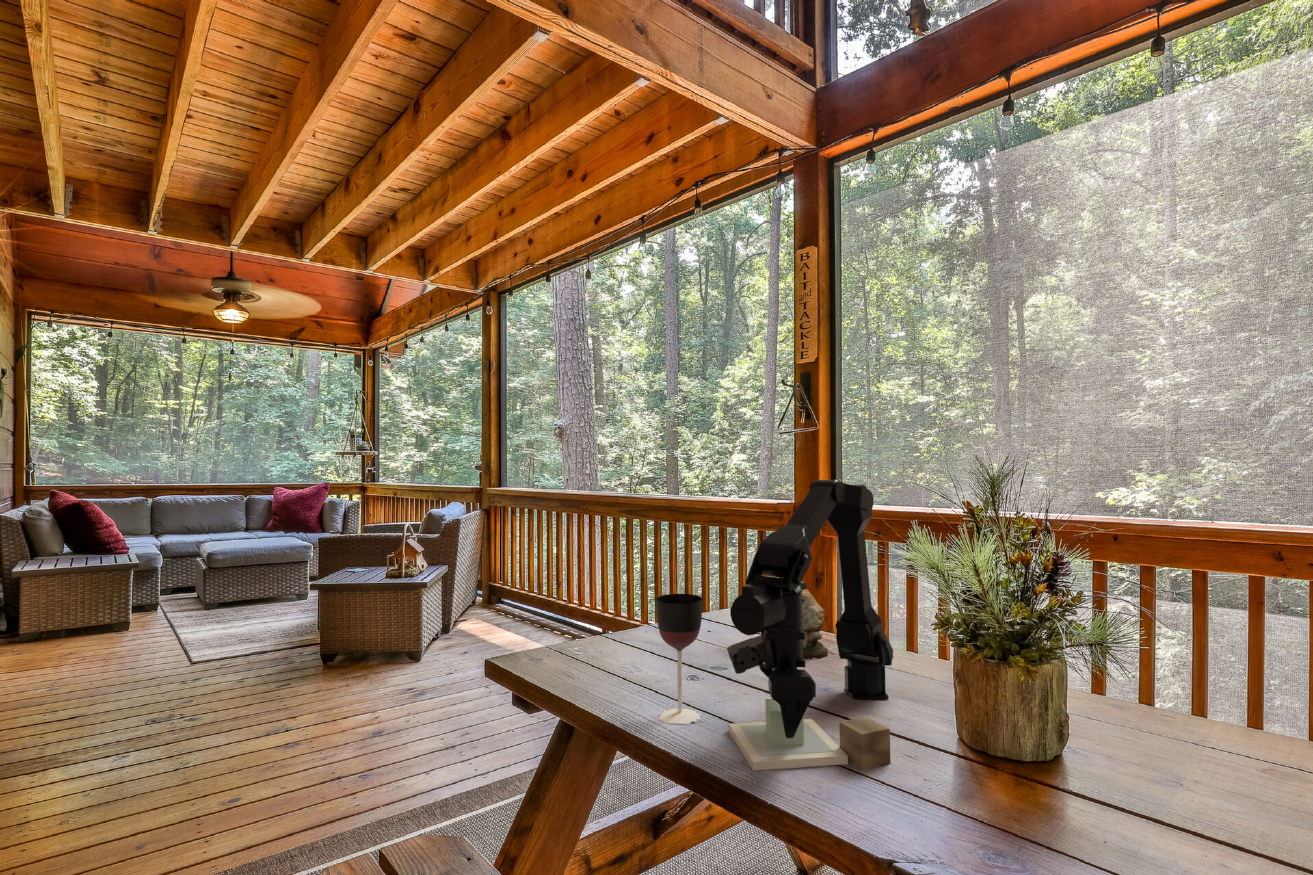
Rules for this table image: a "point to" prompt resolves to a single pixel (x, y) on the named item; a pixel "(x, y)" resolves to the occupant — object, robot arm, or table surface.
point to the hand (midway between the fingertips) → (784, 725)
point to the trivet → (786, 748)
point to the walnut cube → (865, 742)
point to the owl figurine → (812, 627)
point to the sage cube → (780, 726)
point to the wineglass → (679, 640)
